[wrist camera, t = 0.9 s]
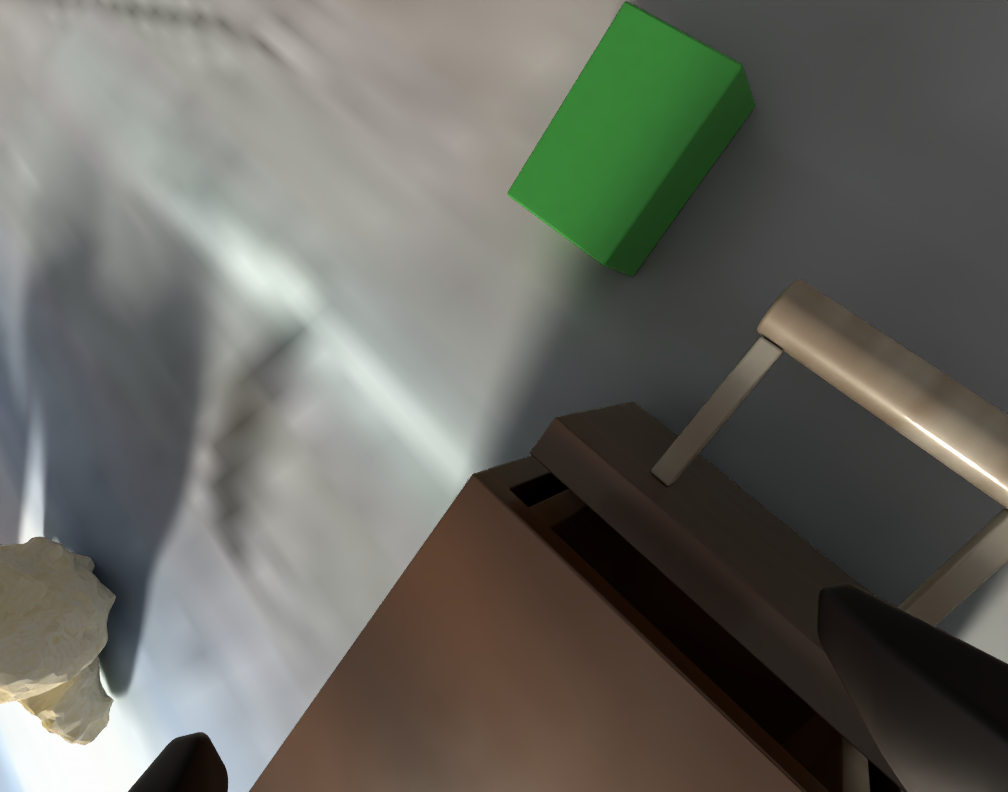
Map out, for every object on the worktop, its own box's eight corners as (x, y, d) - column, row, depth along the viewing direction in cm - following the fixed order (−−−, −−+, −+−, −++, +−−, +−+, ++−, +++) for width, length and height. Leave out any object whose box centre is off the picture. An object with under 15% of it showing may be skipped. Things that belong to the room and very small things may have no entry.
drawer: (745, 255, 20) (705, 210, 14) (1125, 507, 16) (1293, 593, 10) (419, 677, 26) (295, 771, 20) (636, 928, 23) (563, 1133, 17)
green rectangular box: (544, 213, 24) (505, 194, 21) (652, 45, 22) (624, -1, 19) (633, 278, 23) (603, 266, 20) (757, 105, 21) (743, 64, 18)
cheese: (218, 661, 36) (-14, 483, 29) (108, 789, 33) (-192, 626, 25) (134, 588, 47) (-50, 445, 39) (45, 678, 44) (-178, 541, 36)
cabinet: (591, 436, 24) (472, 472, 16) (909, 708, 19) (955, 934, 12) (384, 707, 29) (218, 833, 21) (602, 970, 24) (494, 1248, 17)
